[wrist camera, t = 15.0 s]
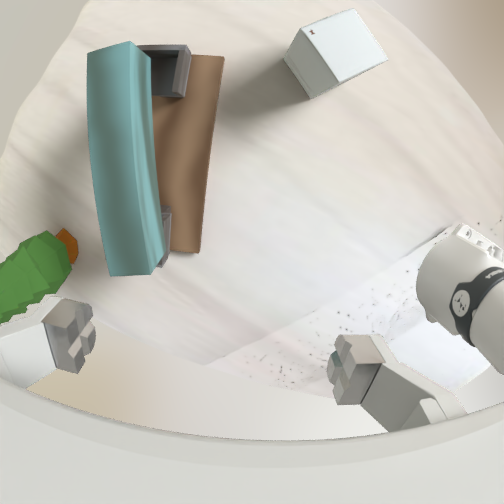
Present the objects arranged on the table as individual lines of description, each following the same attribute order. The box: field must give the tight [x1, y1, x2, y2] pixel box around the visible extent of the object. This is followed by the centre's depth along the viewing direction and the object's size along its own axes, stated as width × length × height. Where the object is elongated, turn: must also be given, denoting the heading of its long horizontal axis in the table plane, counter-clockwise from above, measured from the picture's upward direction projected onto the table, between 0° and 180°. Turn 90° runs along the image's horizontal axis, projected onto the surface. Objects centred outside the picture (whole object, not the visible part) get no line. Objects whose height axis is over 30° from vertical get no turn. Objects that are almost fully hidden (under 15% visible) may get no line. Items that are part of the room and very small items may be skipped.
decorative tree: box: [0, 228, 78, 324], centre depth 29 cm, size 10×9×30 cm
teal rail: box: [87, 41, 166, 276], centre depth 24 cm, size 4×20×6 cm, turn 3°
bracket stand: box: [137, 45, 225, 268], centre depth 33 cm, size 12×28×13 cm, turn 172°
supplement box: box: [283, 8, 388, 99], centre depth 29 cm, size 7×7×13 cm
